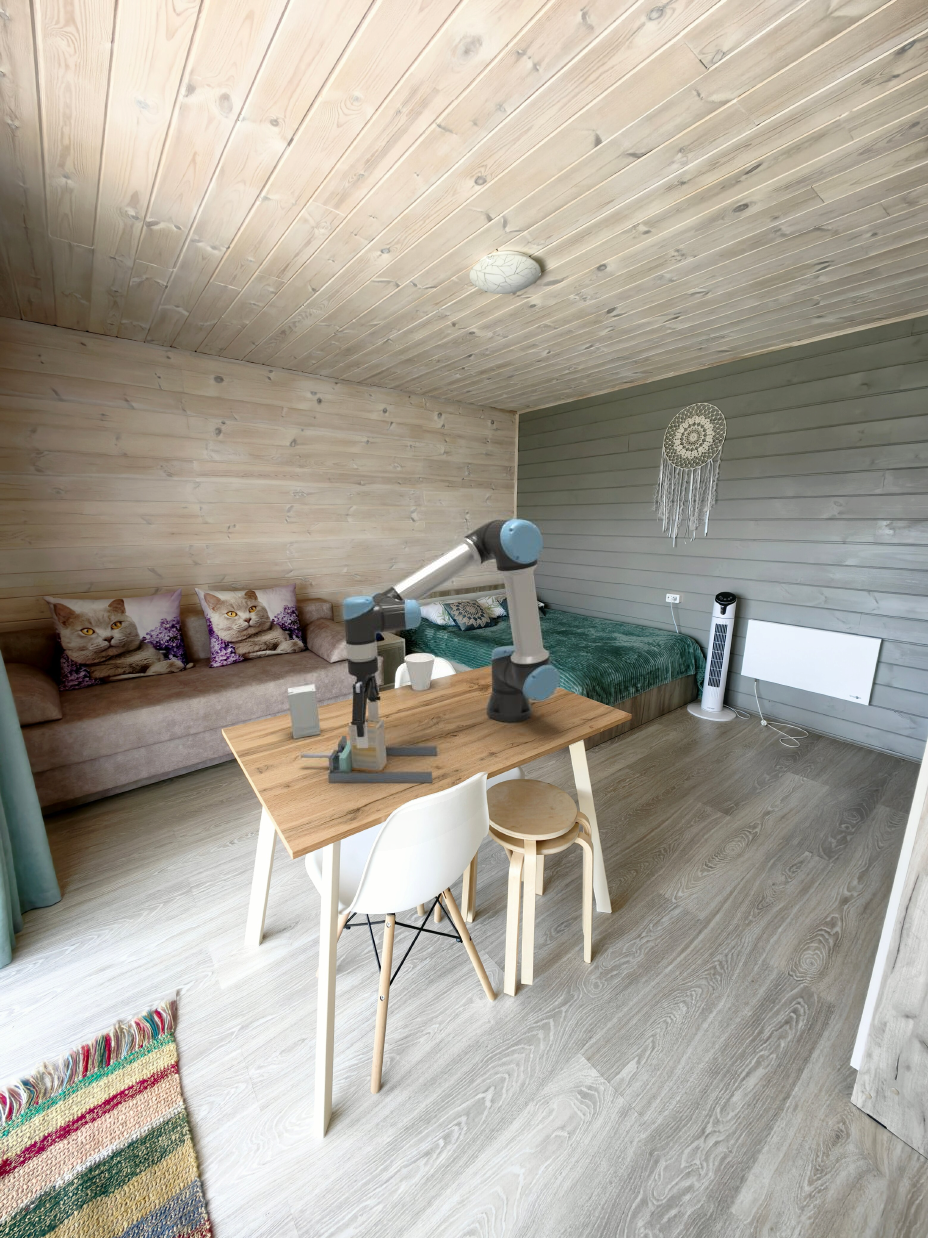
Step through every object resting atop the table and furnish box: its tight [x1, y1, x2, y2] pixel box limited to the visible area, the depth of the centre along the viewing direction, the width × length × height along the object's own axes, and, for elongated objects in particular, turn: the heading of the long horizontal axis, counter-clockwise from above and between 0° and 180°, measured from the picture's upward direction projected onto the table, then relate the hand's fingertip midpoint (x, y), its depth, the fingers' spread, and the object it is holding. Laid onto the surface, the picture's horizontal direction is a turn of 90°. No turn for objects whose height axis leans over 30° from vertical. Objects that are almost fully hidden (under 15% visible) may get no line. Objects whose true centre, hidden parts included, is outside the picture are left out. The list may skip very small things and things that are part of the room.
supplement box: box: [348, 717, 388, 772], centre depth 126 cm, size 8×5×13 cm, turn 76°
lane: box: [328, 735, 438, 784], centre depth 127 cm, size 26×15×6 cm, turn 88°
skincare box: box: [287, 683, 321, 740], centre depth 147 cm, size 8×6×15 cm
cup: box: [404, 652, 436, 692], centre depth 187 cm, size 12×12×12 cm
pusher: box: [300, 739, 352, 772], centre depth 127 cm, size 14×12×6 cm
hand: (368, 735), depth 126 cm, fingers open, 13 cm apart
